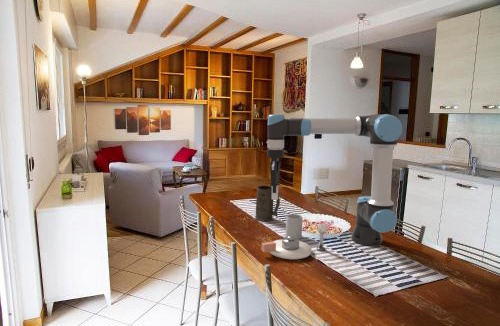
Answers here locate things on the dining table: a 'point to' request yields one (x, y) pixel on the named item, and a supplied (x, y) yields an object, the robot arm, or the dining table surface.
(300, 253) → the turntable
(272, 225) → the dining table surface
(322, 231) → the dial post
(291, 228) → the mug
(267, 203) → the beer stein
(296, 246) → the cover
